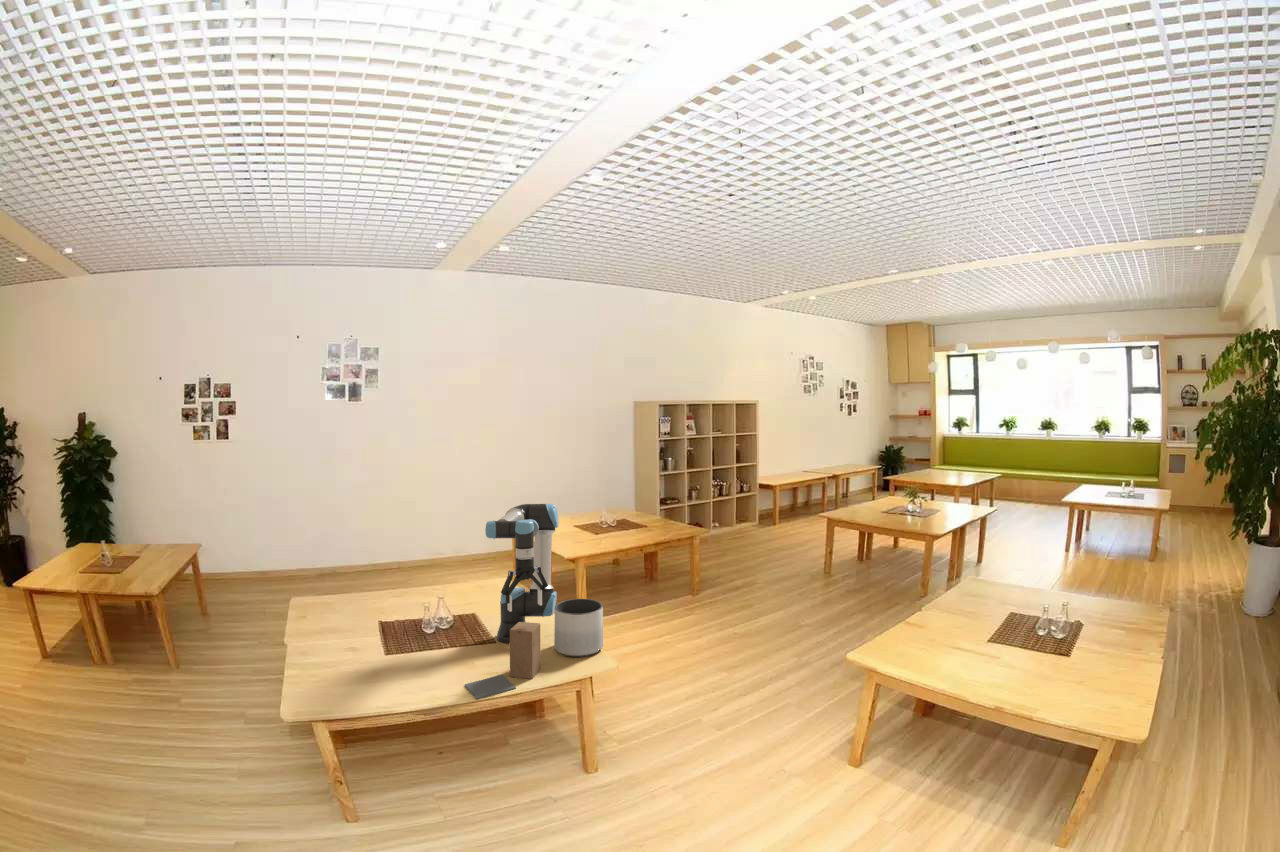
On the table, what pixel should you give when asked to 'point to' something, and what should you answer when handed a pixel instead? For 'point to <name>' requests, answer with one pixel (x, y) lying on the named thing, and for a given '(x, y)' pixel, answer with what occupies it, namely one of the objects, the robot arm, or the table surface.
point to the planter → (578, 627)
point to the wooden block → (525, 650)
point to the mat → (489, 686)
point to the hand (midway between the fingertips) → (525, 607)
